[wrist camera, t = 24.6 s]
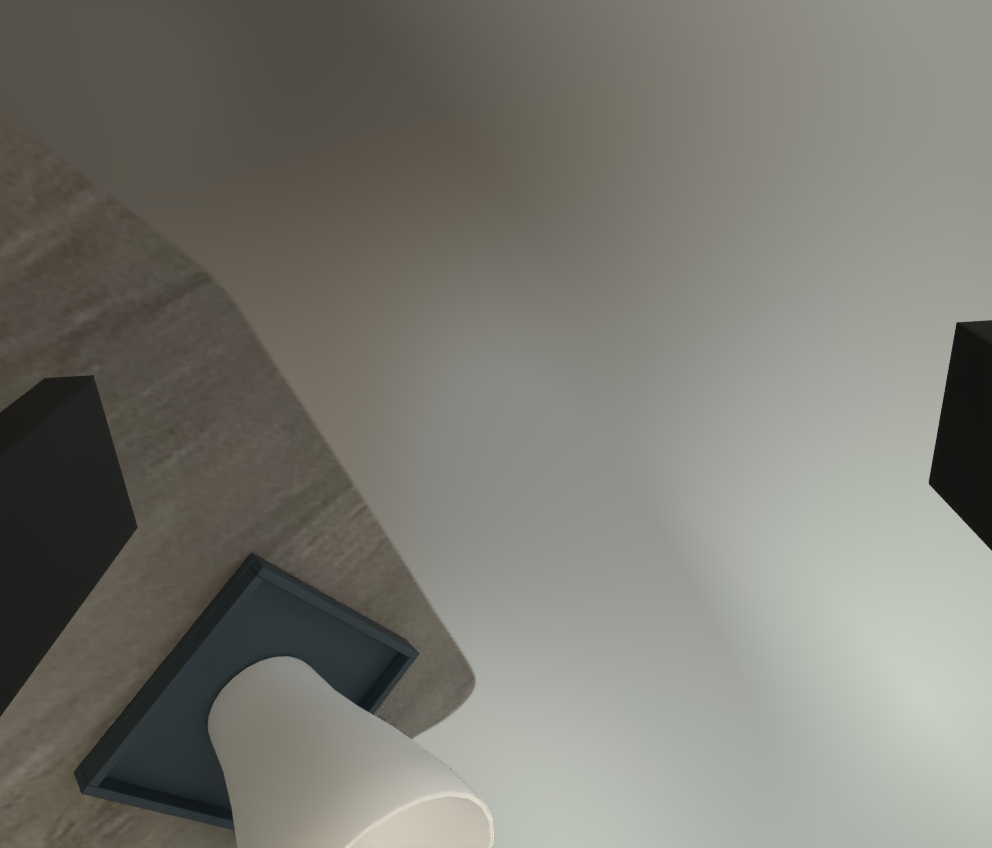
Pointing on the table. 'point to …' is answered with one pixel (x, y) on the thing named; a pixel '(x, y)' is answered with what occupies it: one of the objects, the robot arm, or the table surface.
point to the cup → (332, 770)
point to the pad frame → (211, 666)
